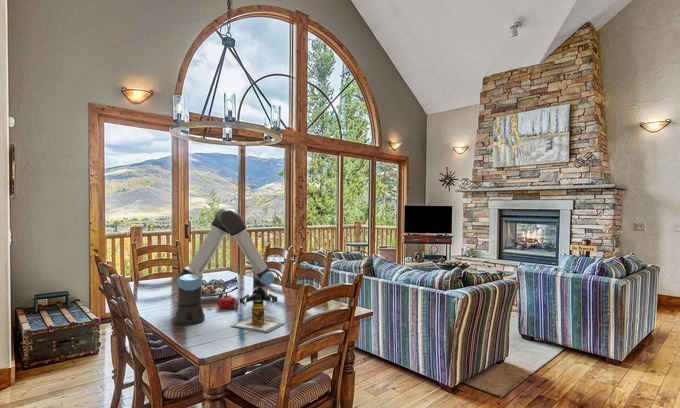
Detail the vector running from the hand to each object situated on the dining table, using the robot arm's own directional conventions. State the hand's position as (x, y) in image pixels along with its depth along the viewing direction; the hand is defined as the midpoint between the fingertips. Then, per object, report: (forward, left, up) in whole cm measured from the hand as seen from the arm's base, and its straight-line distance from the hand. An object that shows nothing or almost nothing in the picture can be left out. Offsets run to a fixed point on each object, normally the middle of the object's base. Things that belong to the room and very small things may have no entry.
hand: (258, 303), depth 206 cm
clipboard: (+5, -7, -9) cm, 12 cm away
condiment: (+4, -7, -8) cm, 12 cm away
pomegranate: (-30, +11, -9) cm, 34 cm away
